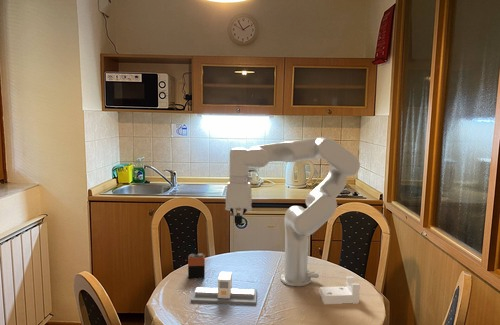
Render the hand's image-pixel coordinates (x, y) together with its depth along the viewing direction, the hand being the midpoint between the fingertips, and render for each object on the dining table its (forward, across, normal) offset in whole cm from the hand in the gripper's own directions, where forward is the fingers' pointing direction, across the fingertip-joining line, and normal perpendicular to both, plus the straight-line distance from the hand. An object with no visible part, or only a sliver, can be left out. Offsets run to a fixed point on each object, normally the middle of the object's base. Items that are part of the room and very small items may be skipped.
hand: (238, 224), depth 149 cm
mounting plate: (+25, +4, +11) cm, 28 cm away
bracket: (+26, -39, +9) cm, 48 cm away
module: (+24, +4, +11) cm, 27 cm away
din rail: (+25, +4, +11) cm, 28 cm away
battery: (+25, +18, -6) cm, 32 cm away
